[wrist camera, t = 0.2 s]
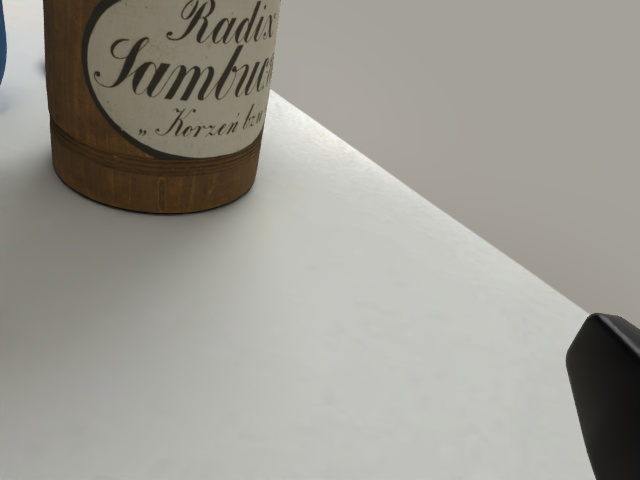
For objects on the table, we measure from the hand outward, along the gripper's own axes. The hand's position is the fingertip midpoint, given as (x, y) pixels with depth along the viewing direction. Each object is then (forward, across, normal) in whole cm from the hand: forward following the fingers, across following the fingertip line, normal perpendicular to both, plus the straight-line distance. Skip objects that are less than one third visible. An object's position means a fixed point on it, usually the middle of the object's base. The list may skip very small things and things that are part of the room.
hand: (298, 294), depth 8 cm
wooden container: (+33, +8, +16) cm, 37 cm away
